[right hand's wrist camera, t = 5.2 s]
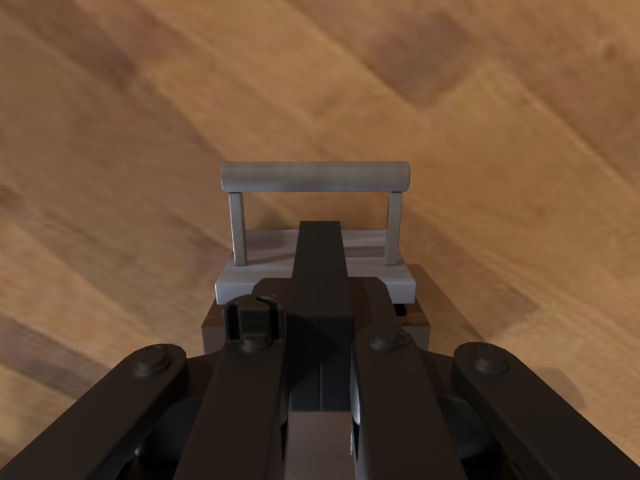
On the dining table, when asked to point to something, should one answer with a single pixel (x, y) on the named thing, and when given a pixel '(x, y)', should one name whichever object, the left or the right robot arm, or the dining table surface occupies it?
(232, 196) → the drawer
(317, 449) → the cabinet
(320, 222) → the right robot arm
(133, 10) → the dining table surface
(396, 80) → the dining table surface
